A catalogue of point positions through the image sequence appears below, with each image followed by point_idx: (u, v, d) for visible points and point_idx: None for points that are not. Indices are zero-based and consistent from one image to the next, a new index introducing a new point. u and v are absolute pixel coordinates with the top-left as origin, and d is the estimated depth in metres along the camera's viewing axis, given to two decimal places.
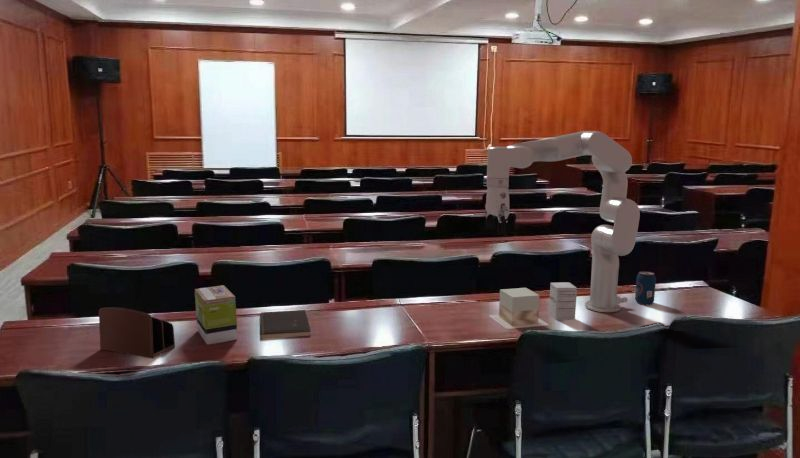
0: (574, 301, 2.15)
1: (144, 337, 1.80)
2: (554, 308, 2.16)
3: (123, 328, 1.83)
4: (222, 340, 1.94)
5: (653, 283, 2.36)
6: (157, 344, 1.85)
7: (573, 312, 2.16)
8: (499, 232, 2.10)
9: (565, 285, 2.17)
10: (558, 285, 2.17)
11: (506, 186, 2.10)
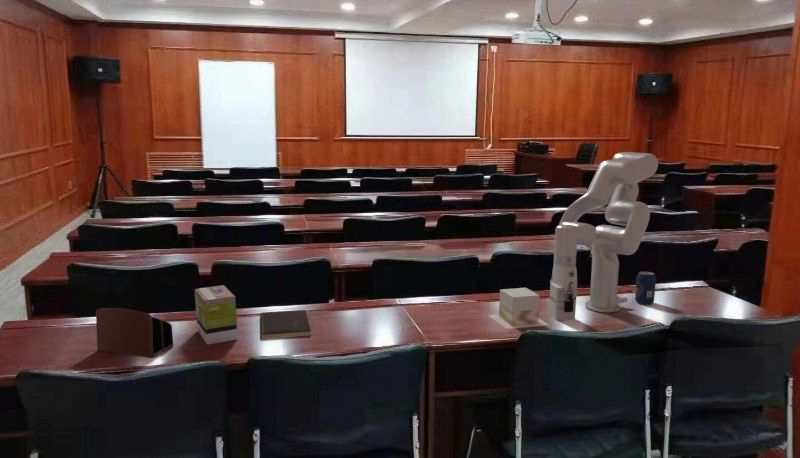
0: (574, 301, 2.15)
1: (144, 336, 1.81)
2: (554, 308, 2.16)
3: (122, 328, 1.83)
4: (222, 340, 1.94)
5: (653, 283, 2.36)
6: (156, 344, 1.85)
7: (573, 312, 2.16)
8: (566, 310, 2.14)
9: None
10: None
11: (574, 264, 2.14)
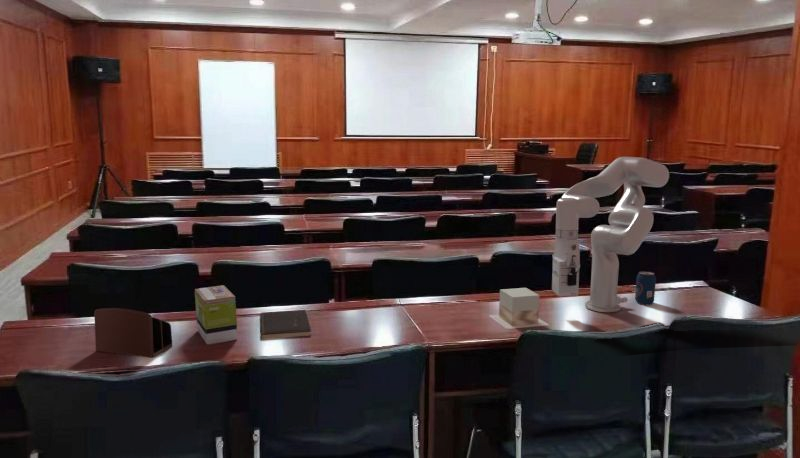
0: (577, 274, 2.14)
1: (144, 336, 1.81)
2: (557, 282, 2.15)
3: (121, 328, 1.82)
4: (222, 340, 1.94)
5: (653, 283, 2.36)
6: (155, 343, 1.85)
7: (576, 286, 2.15)
8: (569, 284, 2.13)
9: None
10: (560, 259, 2.15)
11: (576, 237, 2.12)
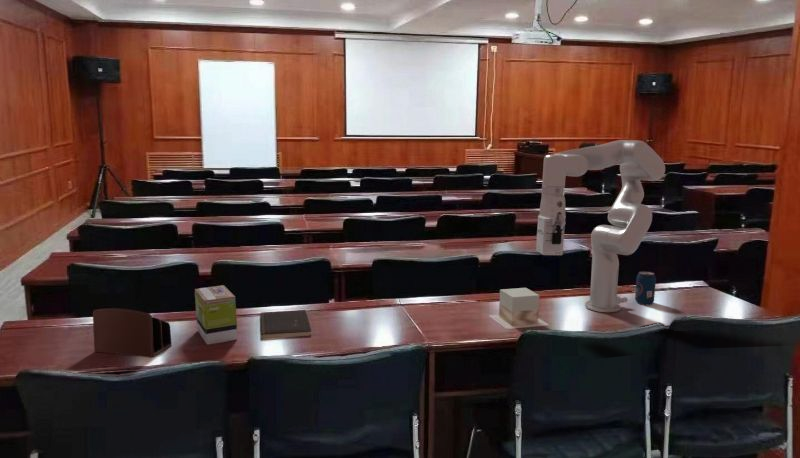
0: (562, 233, 2.09)
1: (144, 336, 1.81)
2: (541, 240, 2.10)
3: (120, 329, 1.82)
4: (222, 340, 1.94)
5: (653, 283, 2.36)
6: (155, 343, 1.86)
7: (561, 245, 2.10)
8: (554, 242, 2.08)
9: None
10: None
11: (562, 195, 2.08)
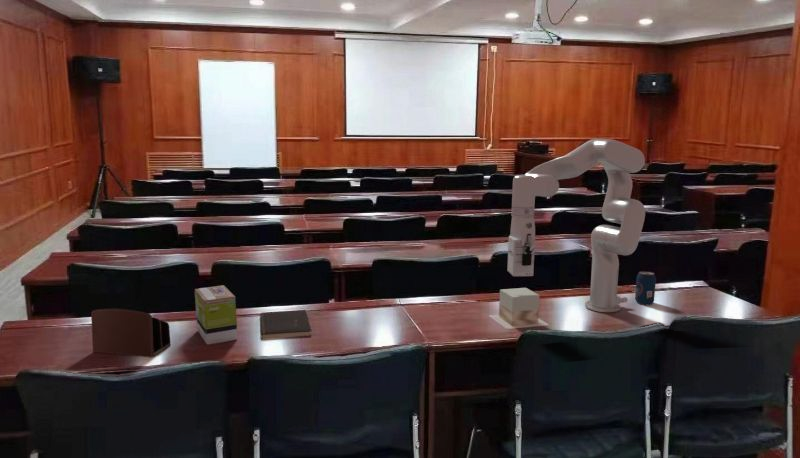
0: (532, 254, 2.07)
1: (144, 336, 1.81)
2: (512, 261, 2.09)
3: (120, 329, 1.82)
4: (222, 340, 1.94)
5: (653, 283, 2.36)
6: (154, 343, 1.86)
7: (531, 266, 2.08)
8: (524, 263, 2.07)
9: None
10: (516, 238, 2.09)
11: (532, 216, 2.06)
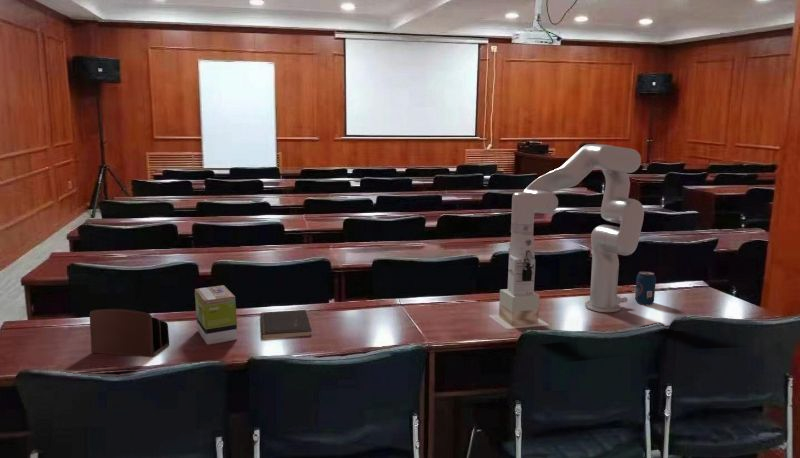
0: (533, 273, 2.09)
1: (143, 336, 1.81)
2: (512, 281, 2.10)
3: (119, 329, 1.82)
4: (222, 340, 1.94)
5: (653, 283, 2.36)
6: (154, 343, 1.86)
7: (532, 285, 2.09)
8: (524, 279, 2.07)
9: None
10: None
11: (531, 232, 2.07)
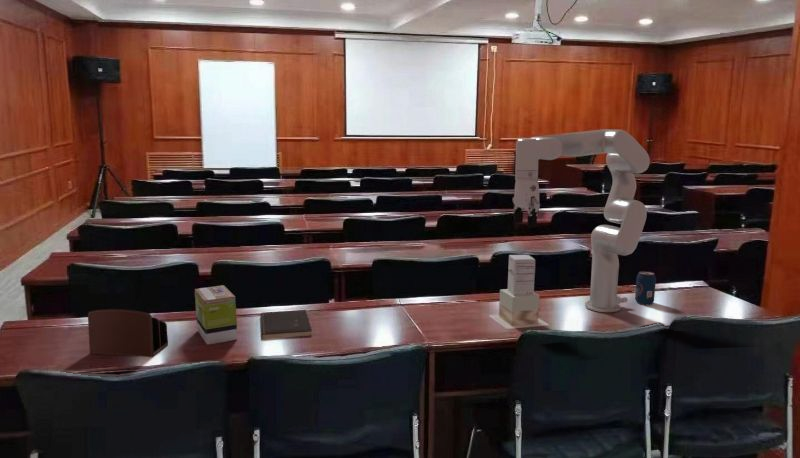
0: (533, 273, 2.09)
1: (143, 336, 1.81)
2: (512, 281, 2.10)
3: (118, 329, 1.82)
4: (222, 340, 1.94)
5: (653, 283, 2.36)
6: (153, 343, 1.86)
7: (532, 285, 2.09)
8: (529, 225, 2.06)
9: (523, 257, 2.10)
10: (516, 257, 2.10)
11: (536, 178, 2.06)
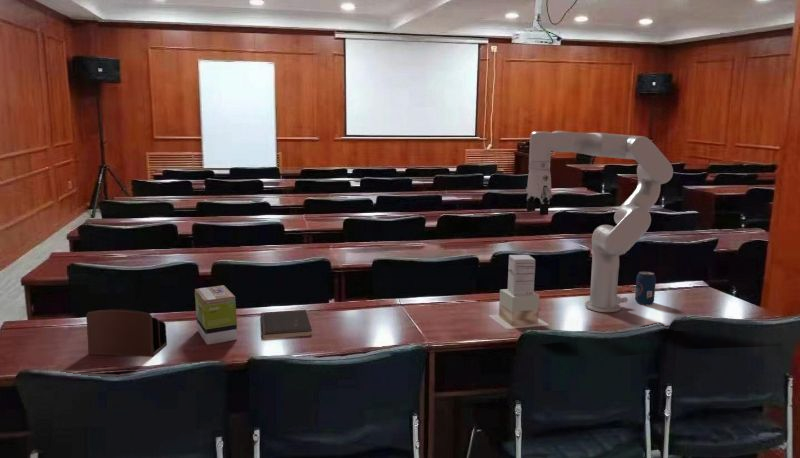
0: (533, 273, 2.09)
1: (143, 336, 1.81)
2: (512, 281, 2.10)
3: (117, 330, 1.81)
4: (222, 340, 1.94)
5: (653, 283, 2.36)
6: (152, 343, 1.86)
7: (532, 285, 2.09)
8: (541, 213, 2.20)
9: (523, 257, 2.10)
10: (516, 257, 2.10)
11: (548, 169, 2.20)
